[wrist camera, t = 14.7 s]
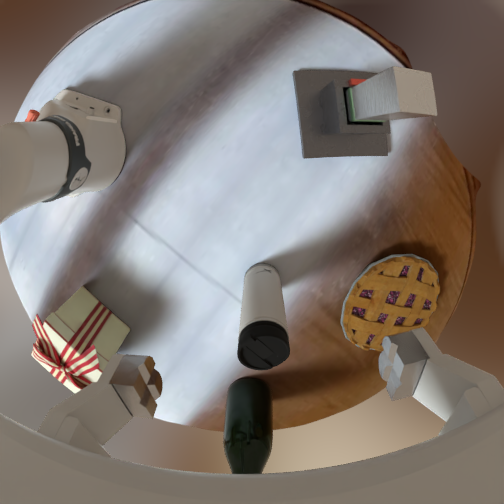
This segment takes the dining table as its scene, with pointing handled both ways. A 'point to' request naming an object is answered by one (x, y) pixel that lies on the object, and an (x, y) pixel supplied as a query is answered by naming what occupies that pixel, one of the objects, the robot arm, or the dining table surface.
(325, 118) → the grey square socket stand
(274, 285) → the travel mug
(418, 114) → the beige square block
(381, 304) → the pie
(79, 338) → the gift box
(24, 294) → the dining table surface
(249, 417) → the green wine bottle
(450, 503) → the robot arm
